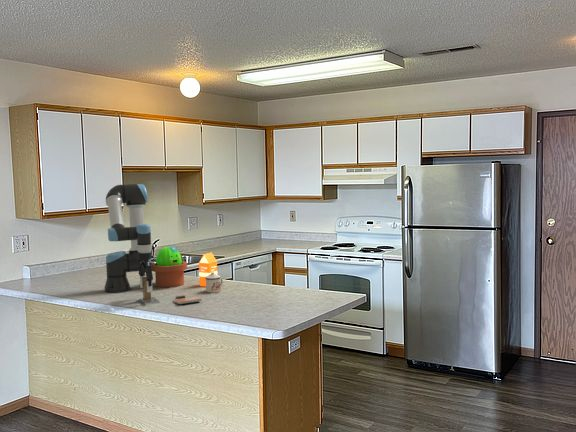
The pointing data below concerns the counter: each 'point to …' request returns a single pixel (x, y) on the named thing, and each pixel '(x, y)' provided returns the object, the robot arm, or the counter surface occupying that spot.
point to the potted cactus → (169, 268)
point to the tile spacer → (180, 297)
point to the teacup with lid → (213, 283)
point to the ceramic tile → (187, 300)
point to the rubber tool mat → (140, 303)
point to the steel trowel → (147, 294)
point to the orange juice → (207, 267)
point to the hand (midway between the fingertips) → (146, 289)
